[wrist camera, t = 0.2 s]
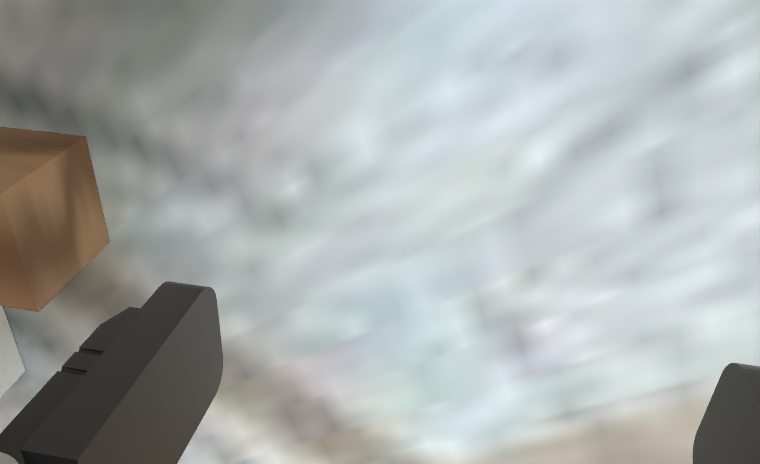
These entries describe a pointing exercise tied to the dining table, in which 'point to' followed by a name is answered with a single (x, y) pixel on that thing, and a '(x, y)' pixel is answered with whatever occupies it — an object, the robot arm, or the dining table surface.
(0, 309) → the tray
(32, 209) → the walnut cube
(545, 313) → the dining table surface
